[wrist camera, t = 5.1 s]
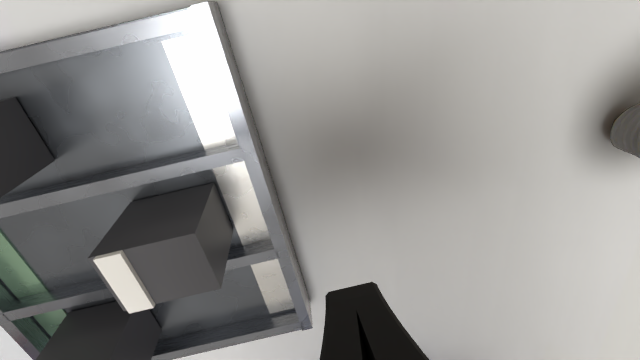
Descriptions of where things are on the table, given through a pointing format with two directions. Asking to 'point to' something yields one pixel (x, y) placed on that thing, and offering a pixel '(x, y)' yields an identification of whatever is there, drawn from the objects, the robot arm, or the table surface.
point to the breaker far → (104, 335)
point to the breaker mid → (165, 248)
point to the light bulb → (627, 131)
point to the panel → (142, 179)
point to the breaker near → (19, 147)
